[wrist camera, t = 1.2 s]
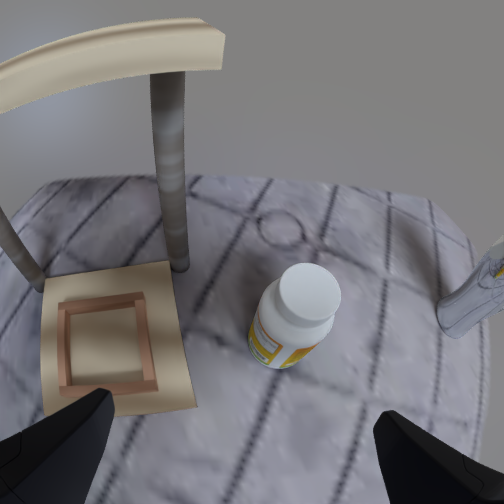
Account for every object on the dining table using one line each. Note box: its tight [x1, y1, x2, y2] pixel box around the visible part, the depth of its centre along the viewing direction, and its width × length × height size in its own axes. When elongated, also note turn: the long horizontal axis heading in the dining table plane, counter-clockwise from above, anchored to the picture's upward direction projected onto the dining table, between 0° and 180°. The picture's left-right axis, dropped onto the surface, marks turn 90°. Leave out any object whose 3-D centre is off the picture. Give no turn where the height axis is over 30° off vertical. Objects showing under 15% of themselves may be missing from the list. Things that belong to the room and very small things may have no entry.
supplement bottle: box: [248, 263, 341, 369], centre depth 20 cm, size 5×5×10 cm
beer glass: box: [437, 234, 504, 339], centre depth 22 cm, size 7×7×15 cm
